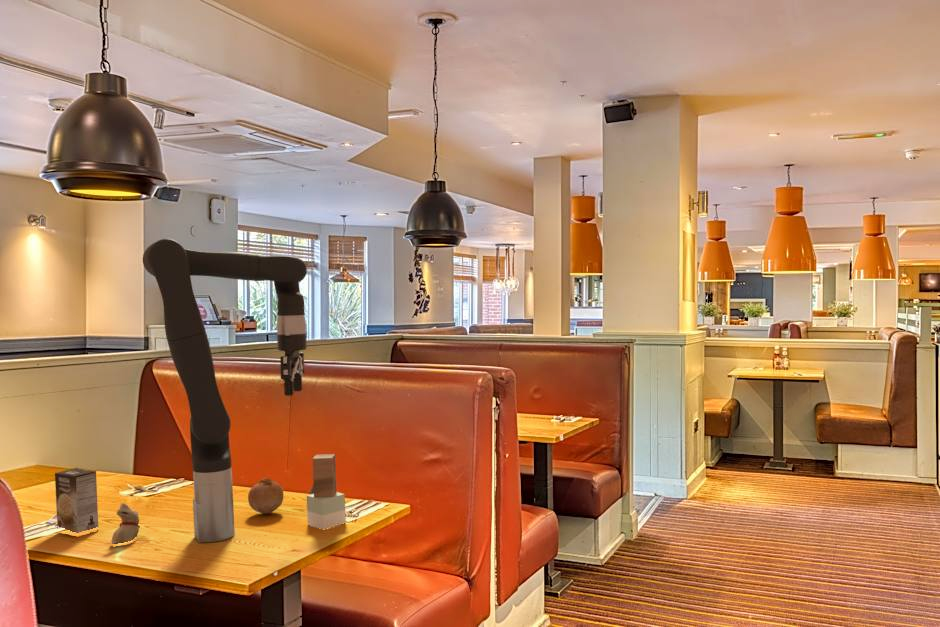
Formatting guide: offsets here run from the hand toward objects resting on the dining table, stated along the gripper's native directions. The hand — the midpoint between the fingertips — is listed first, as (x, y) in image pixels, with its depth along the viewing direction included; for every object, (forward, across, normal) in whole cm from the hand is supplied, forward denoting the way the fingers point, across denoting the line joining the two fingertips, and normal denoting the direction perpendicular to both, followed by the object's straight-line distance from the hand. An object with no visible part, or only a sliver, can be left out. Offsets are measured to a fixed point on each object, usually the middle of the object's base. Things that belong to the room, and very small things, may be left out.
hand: (293, 393), depth 209 cm
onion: (+34, -6, -10) cm, 36 cm away
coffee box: (+35, +7, -56) cm, 67 cm away
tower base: (+34, +5, +9) cm, 36 cm away
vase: (+34, -11, +4) cm, 36 cm away
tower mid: (+30, +5, +9) cm, 32 cm away
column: (+26, +5, +9) cm, 28 cm away
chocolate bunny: (+35, +16, -39) cm, 55 cm away
